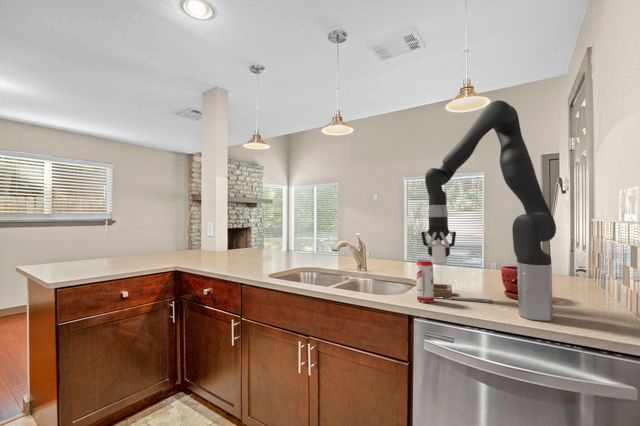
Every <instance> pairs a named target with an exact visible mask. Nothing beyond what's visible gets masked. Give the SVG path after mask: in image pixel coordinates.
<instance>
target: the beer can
mask: <svg viewBox="0 0 640 426" xmlns="http://www.w3.org/2000/svg"><path fill="white" fill-rule="evenodd" d="M415 266H416V268H415V269H416V299H417V301H418V302H419V301H423V302H431V303H432V302H434V300H435V298H434V284H435V283H434V282H435V281H434V263H432V259H426V258H425V259H423V258H422V259H417V263H416V265H415Z"/></svg>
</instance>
